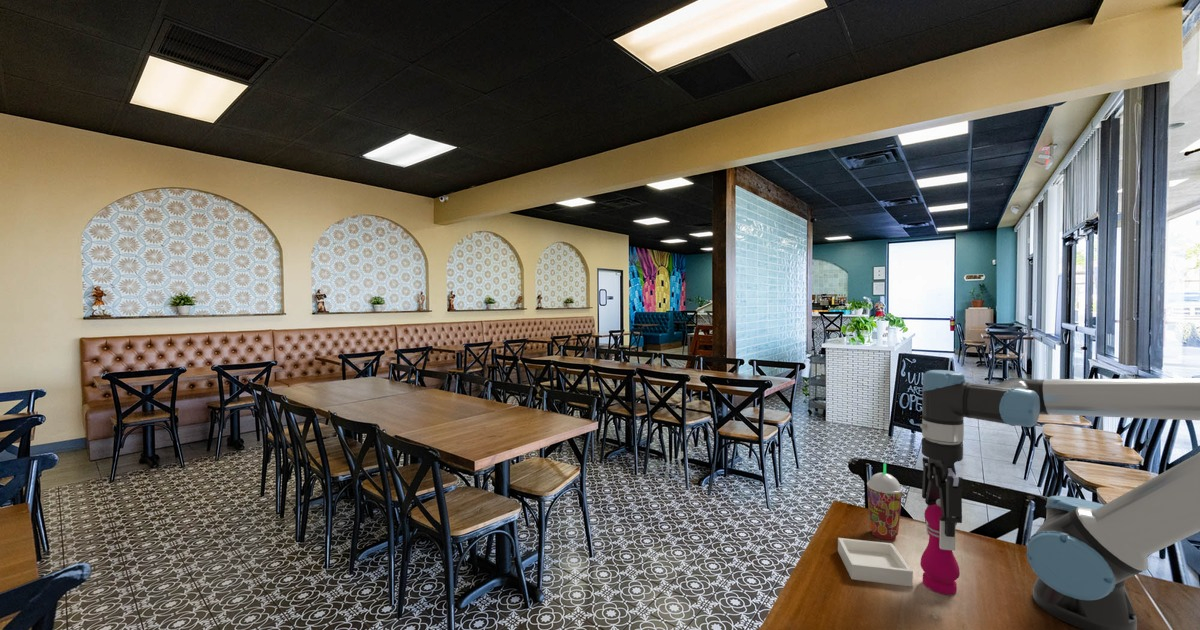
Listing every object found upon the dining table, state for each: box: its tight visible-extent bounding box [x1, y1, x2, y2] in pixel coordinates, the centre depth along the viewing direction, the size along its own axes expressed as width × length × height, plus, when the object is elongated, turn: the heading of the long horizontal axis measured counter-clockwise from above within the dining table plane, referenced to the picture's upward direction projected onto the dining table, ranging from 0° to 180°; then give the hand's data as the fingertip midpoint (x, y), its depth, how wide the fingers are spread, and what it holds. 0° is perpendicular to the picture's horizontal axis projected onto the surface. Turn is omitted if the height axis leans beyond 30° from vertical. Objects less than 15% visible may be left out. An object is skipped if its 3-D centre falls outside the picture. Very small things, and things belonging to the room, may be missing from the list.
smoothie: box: [866, 462, 904, 541], centre depth 130 cm, size 8×8×20 cm
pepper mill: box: [919, 499, 961, 596], centre depth 107 cm, size 7×7×20 cm
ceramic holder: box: [837, 537, 914, 588], centre depth 115 cm, size 13×13×4 cm
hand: (940, 541), depth 107 cm, fingers closed on pepper mill, 6 cm apart
